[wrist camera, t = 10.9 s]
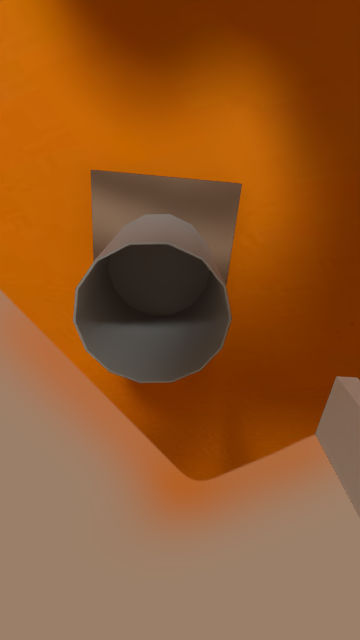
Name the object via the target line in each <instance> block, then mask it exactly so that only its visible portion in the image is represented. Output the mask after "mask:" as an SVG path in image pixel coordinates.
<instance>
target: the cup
mask: <svg viewBox="0 0 360 640" xmlns="http://www.w3.org/2000/svg"><path fill="white" fill-rule="evenodd" d="M231 319H232V317H231V311H230V306H229V301H228V295H227V290H226V285H225V283H224V281H223V279H222V276H221V274H220V272H219V270H218V267H217V265H216V263H215V261H214V259H213V256H212V254H211V252H210V250H209V247H208V245H207V243H206V242H205V241H204V239H203V238H202V237H201V236H200V234H199V233H198V232H197V230H196V229H195V228H194V226H193V225H191V224H189V223H187V222H185V221H183V220H181V219H179V218H177V217H175V216H173V215H171V214H145V215H143V216H142V217H140V218H138V219H136V220H134V221H132V222H130V223H128V224H126V225H125V226H123V228H122V229H121V230H120V231H119V232H118V233H117V235H116V236H115V237H114V238H113V239H112V241H111V242H110V243H109V244H108V245H107V246H106V248H105V249H104V250H103V251H102V252H101V253H100V255H99V256H98V257H97V258H96V259H95V261H94V262H93V264H92V265H91V267H90V268H89V270H88V271H87V273H86V274H85V275H84V277H83V278H82V280H81V281H80V283H79V284H78V286H77V287H76V292H75V304H74V317H73V322H74V324H75V327H76V329H77V331H78V334H79V336H80V338H81V341H82V343H83V345H84V348H85V350H86V351H87V352H88V353H89V354H90V355H91V356H92V357H93V358H95V359H96V360H97V361H98V362H99V363H100V364H101V365H102V366H103V367H105V368H106V369H107V370H108V371H109V372H111V373H114V374H116V375H119V376H122V377H125V378H127V379H130V380H133V381H136V382H138V383H168V382H174V381H177V380H179V379H181V378H184V377H186V376H189V375H191V374H193V373H196V372H198V371H201V370H202V369H203V368H204V367H205V366H206V365H207V364H208V362H209V361H210V360H211V359H212V358H213V357H214V356H215V355H216V354H217V353H218V352H219V351H220V350H221V349H222V348H223V344H224V341H225V338H226V335H227V332H228V329H229V326H230V322H231Z"/></svg>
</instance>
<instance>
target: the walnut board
mask: <svg viewBox="0 0 360 640" xmlns="http://www.w3.org/2000/svg"><path fill="white" fill-rule="evenodd" d="M241 186H242V184H239V183H230V182H219V181H208V180H197V179H186V178H175V177H165V176H154V175H143V174H132V173H121V172H111V171H100V170H91V190H92V221H93V252H94V261H95V259H96V258H97V257H98V256H99V255H100V253H101V252H102V251H103V250H104V249H105V248H106V246H107V245H108V244H109V243H110V242H111V241H112V239H113V238H114V237H115V236H116V235H117V233H118V232H119V231H120V230H121V229H122V228H123V226H125V225H126V224H128V223H130V222H132V221H134V220H136V219H138V218H140V217H142V216H143V215H145V214H171V215H173V216H175V217H177V218H179V219H181V220H183V221H185V222H187V223H189V224H191V225H193V226H194V228H195V229H196V230H197V232H198V233H199V234H200V236H201V237H202V238H203V239H204V241H205V242H206V243H207V245H208V247H209V250H210V252H211V254H212V256H213V259H214V261H215V263H216V265H217V267H218V270H219V272H220V274H221V276H222V279H223V281H224V283H225V285H226V283H227V276H228V270H229V264H230V257H231V251H232V244H233V238H234V231H235V225H236V218H237V212H238V205H239V199H240V193H241Z"/></svg>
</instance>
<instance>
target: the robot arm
mask: <svg viewBox="0 0 360 640" xmlns="http://www.w3.org/2000/svg"><path fill="white" fill-rule="evenodd" d="M315 434H316V436H317V438H318V440H319V442H320V444H321V445H322V447H323V449H324V451H325V453H326V455H327V457H328V459H329V461H330V462H331V464H332V466H333V468H334V470H335V472H336V474H337V476H338V478H339V480H340V482H341V483H342V485H343V487H344V489H345V491H346V493H347V495H348V497H349V499H350V500H351V502H352V504H353V506H354V508H355V510H356V512H357V514H358V516H359V517H360V380H359V379H358V378H357V377H340V376H336V379H335V381H334V384H333V387H332V389H331V392H330V395H329V398H328V400H327V403H326V406H325V408H324V411H323V414H322V417H321V419H320V422H319V425H318V428H317V430H316V433H315Z"/></svg>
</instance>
